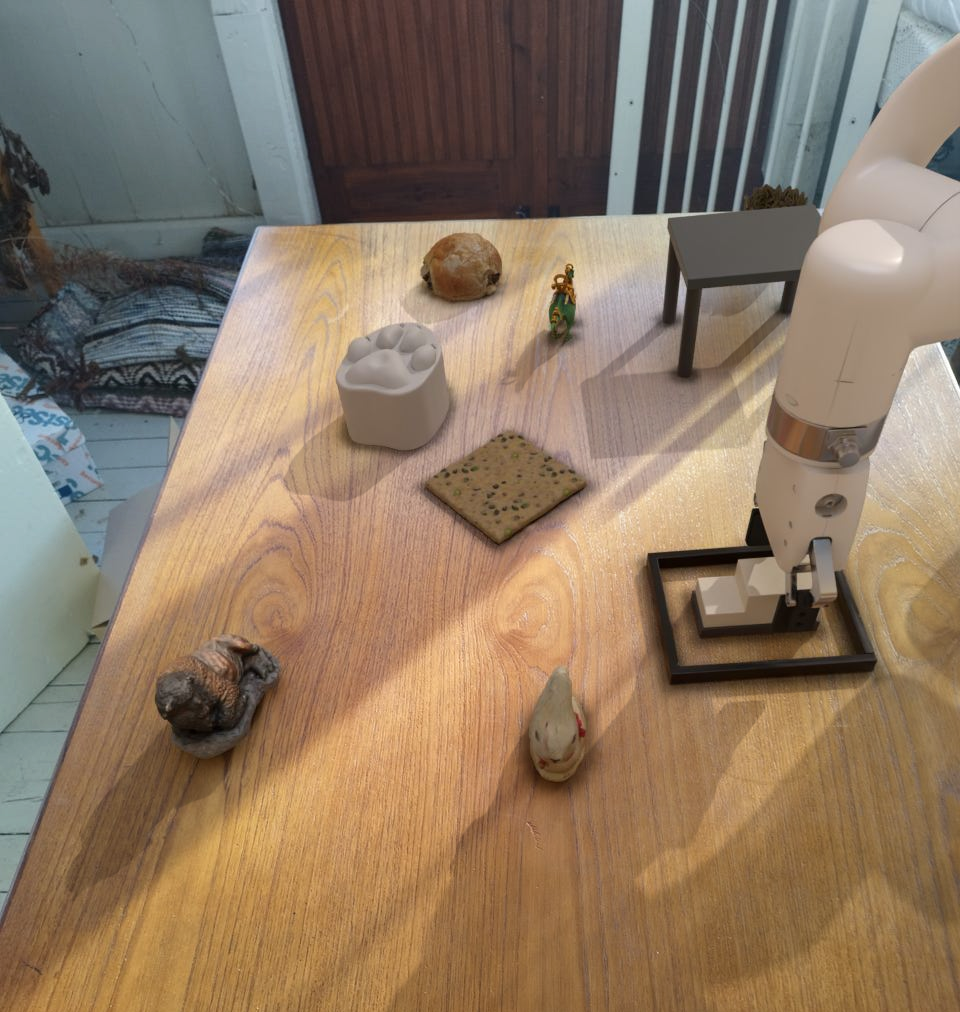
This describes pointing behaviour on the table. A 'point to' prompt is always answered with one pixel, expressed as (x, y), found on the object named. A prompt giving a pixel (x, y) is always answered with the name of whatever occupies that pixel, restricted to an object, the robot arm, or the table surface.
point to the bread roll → (462, 267)
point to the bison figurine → (214, 693)
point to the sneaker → (743, 598)
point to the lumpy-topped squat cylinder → (394, 387)
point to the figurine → (563, 302)
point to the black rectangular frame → (754, 669)
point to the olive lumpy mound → (774, 198)
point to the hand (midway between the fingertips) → (776, 584)
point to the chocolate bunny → (557, 729)
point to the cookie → (504, 485)
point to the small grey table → (734, 259)
